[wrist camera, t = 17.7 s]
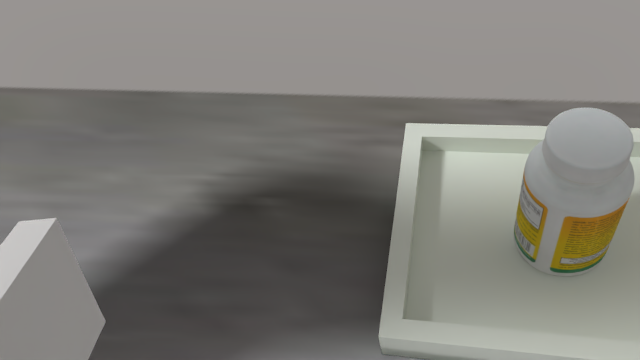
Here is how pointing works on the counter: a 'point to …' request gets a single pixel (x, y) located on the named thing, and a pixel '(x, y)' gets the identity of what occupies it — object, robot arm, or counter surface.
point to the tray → (496, 260)
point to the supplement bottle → (574, 192)
